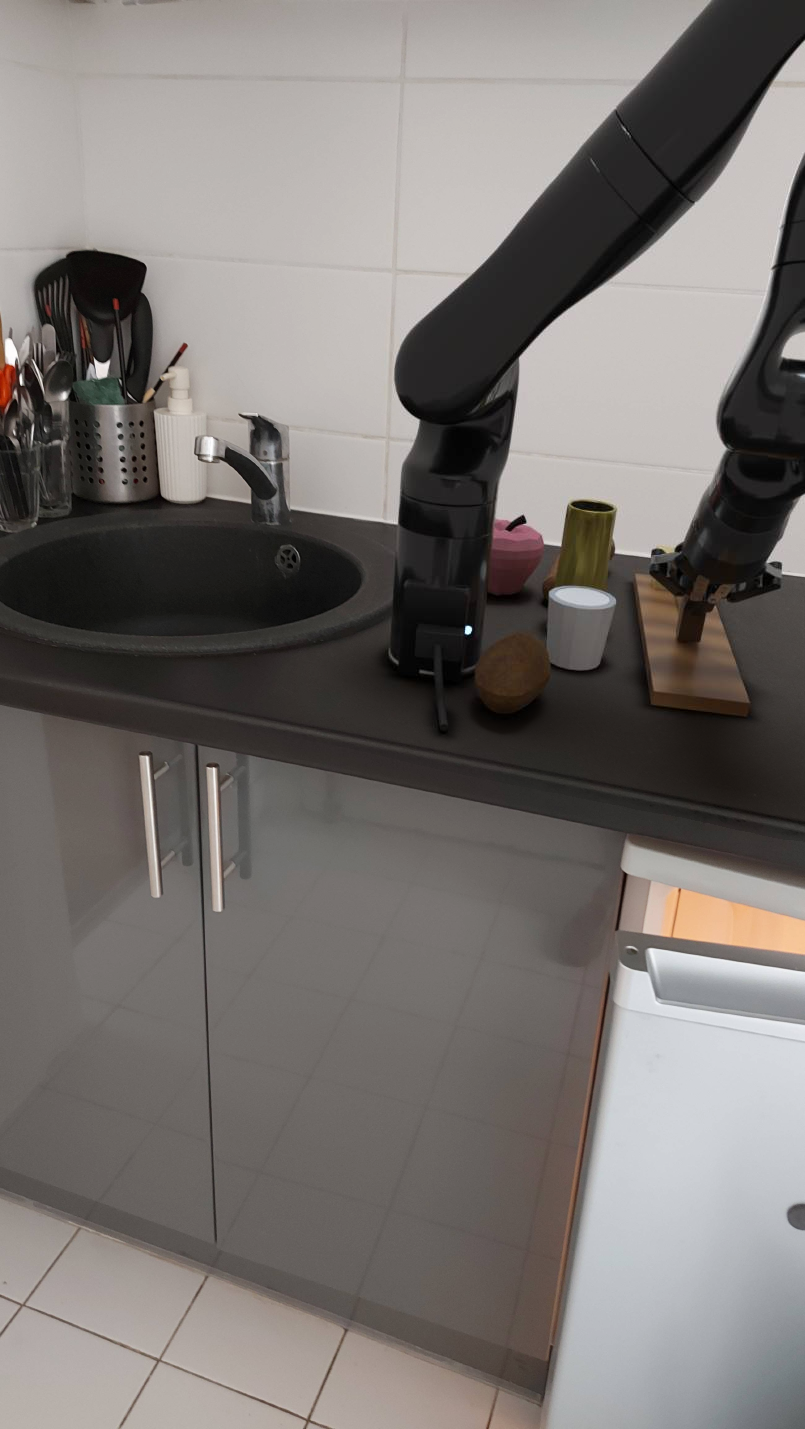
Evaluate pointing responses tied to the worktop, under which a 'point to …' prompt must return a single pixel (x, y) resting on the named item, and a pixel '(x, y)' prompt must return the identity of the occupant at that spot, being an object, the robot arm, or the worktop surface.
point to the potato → (512, 672)
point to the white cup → (578, 626)
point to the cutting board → (686, 657)
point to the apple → (513, 555)
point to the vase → (586, 544)
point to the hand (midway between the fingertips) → (696, 607)
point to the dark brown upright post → (688, 623)
